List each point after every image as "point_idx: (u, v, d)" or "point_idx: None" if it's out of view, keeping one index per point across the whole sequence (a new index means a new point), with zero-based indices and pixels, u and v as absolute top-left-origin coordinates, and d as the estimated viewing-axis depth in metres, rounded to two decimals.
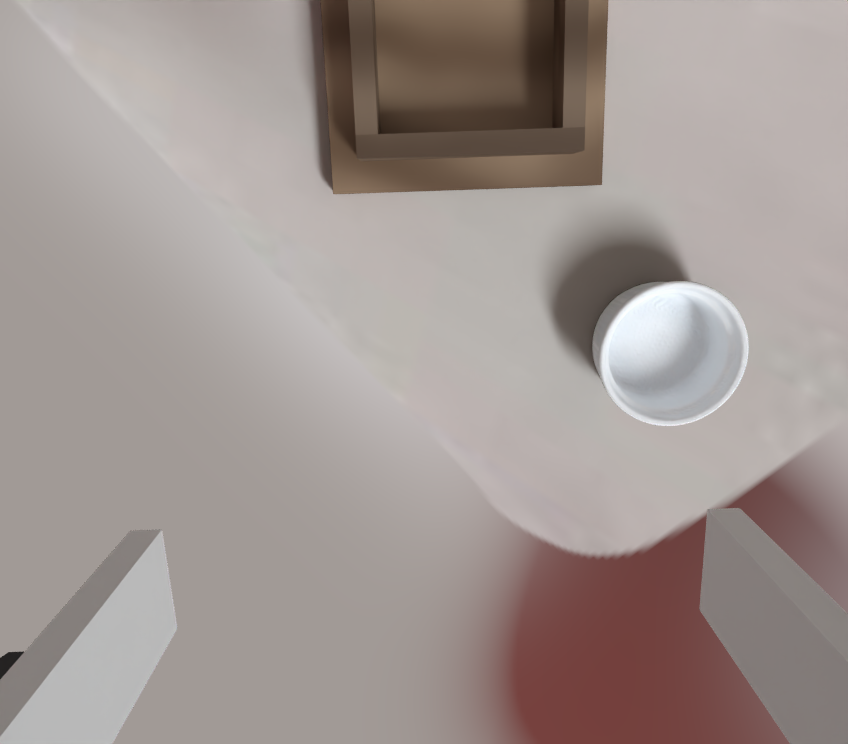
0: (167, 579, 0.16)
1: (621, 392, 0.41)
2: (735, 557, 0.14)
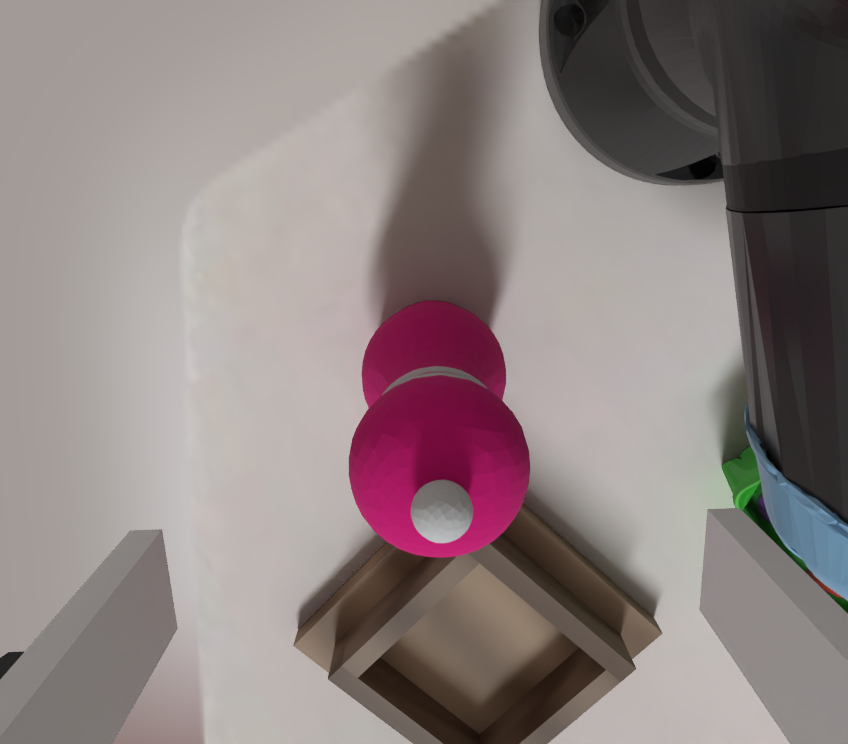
0: (167, 578, 0.16)
1: None
2: (735, 557, 0.14)
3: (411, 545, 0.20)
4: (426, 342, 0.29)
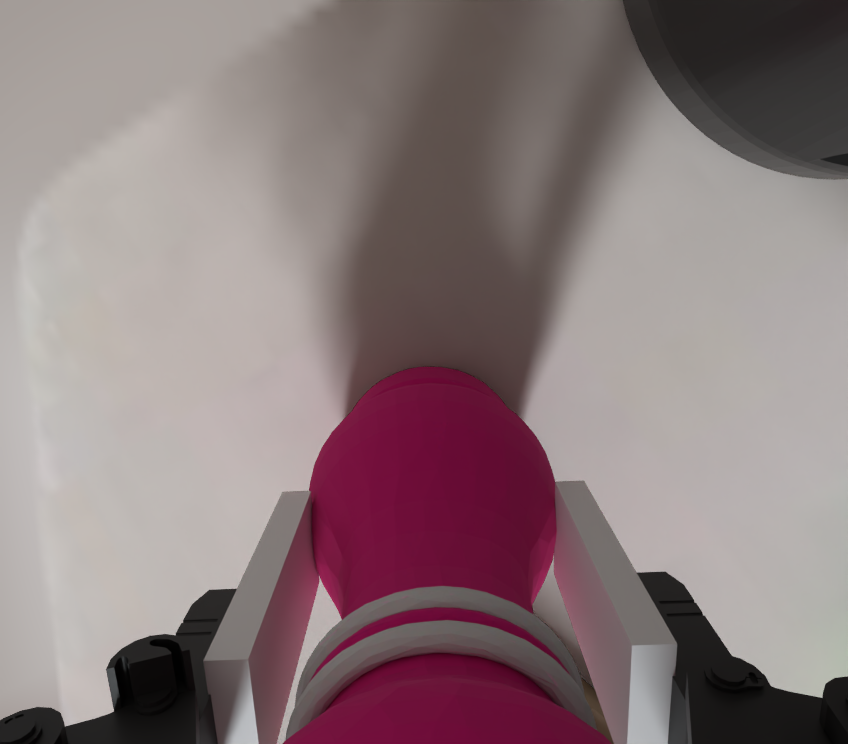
0: None
1: None
2: (567, 522, 0.16)
3: None
4: (419, 478, 0.15)
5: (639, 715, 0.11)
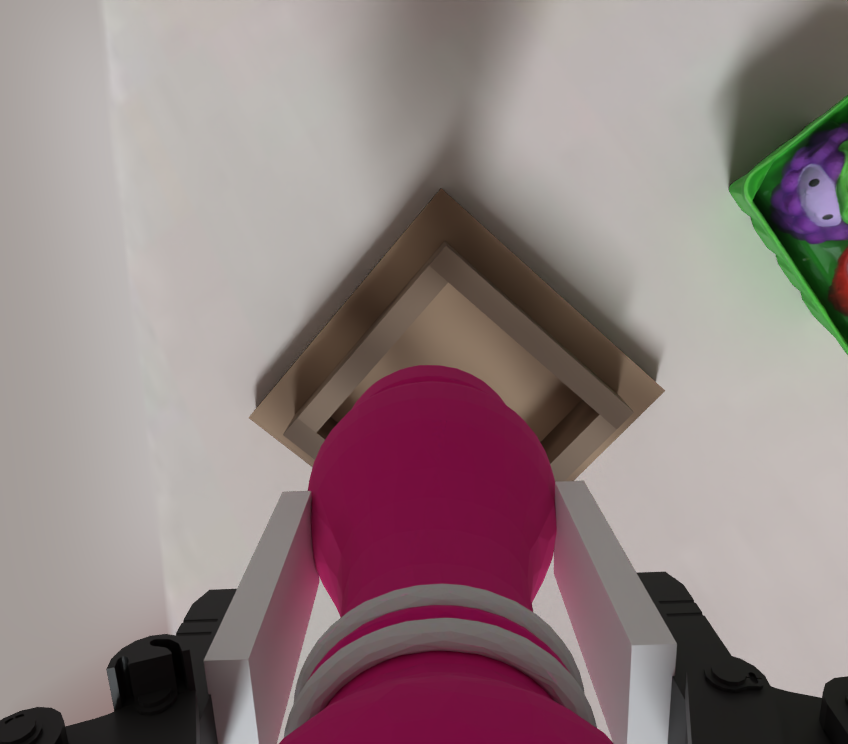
0: None
1: None
2: (567, 521, 0.16)
3: None
4: (419, 476, 0.15)
5: (639, 715, 0.11)
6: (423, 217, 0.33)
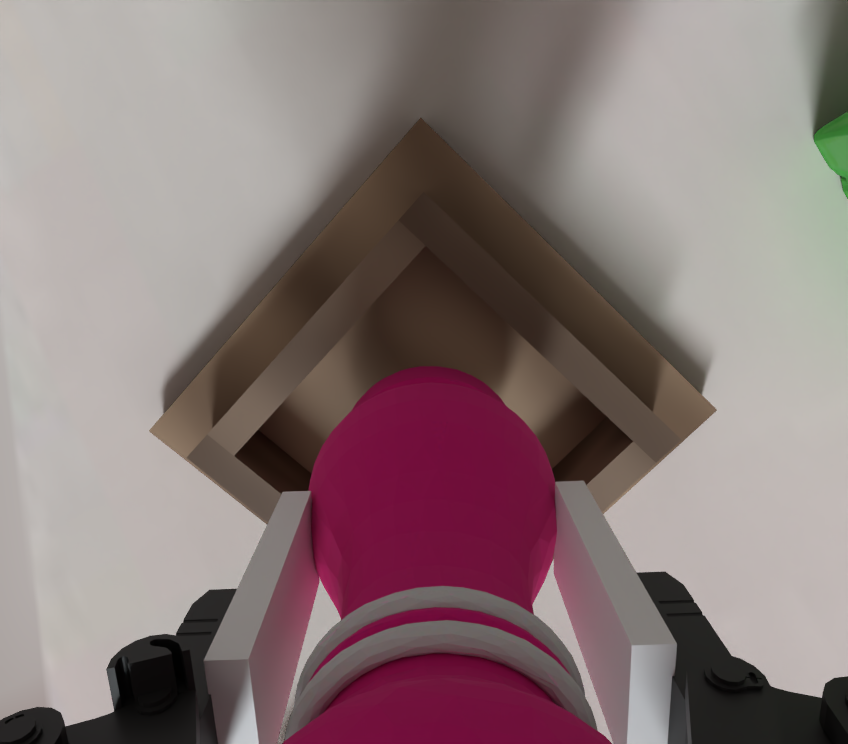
0: None
1: None
2: (567, 521, 0.16)
3: None
4: (419, 478, 0.15)
5: (639, 715, 0.11)
6: (394, 158, 0.23)
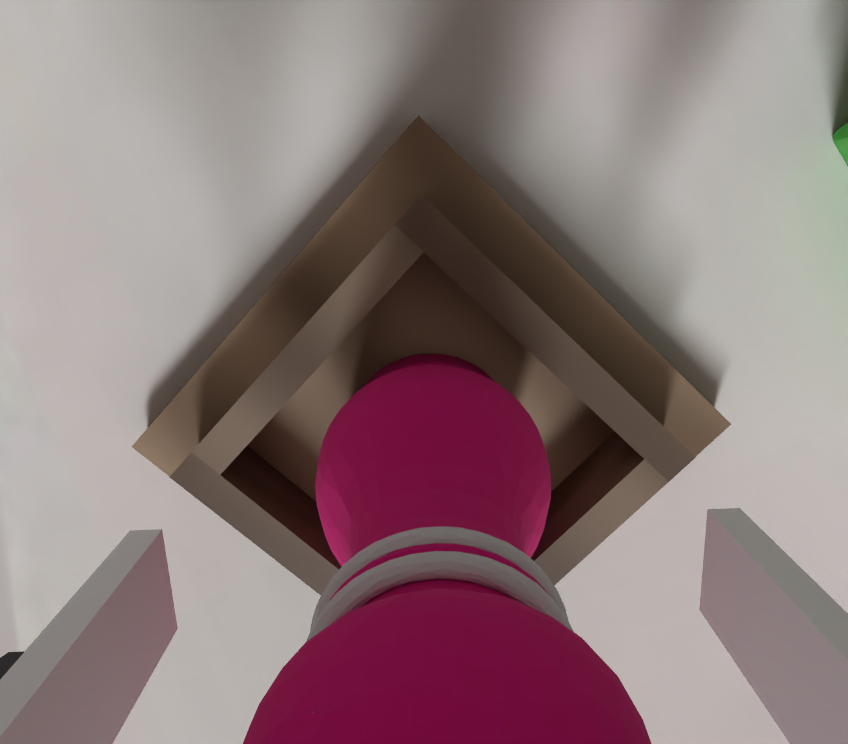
0: (167, 579, 0.16)
1: None
2: (735, 557, 0.14)
3: None
4: (421, 445, 0.16)
5: None
6: (390, 159, 0.22)
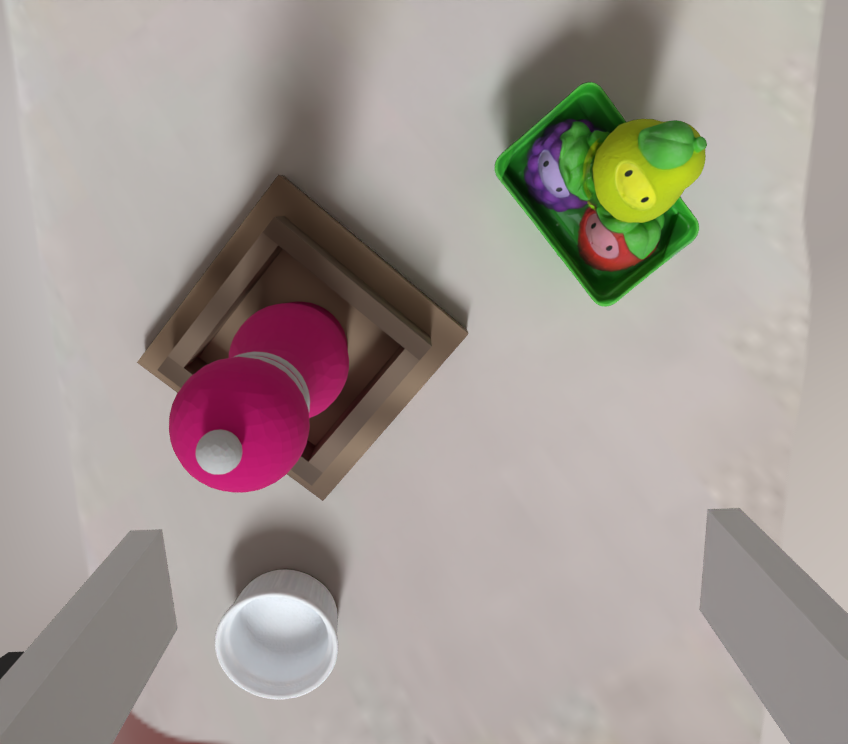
0: (167, 578, 0.16)
1: (228, 640, 0.48)
2: (736, 557, 0.14)
3: (212, 481, 0.28)
4: (266, 334, 0.36)
5: None
6: (265, 198, 0.42)
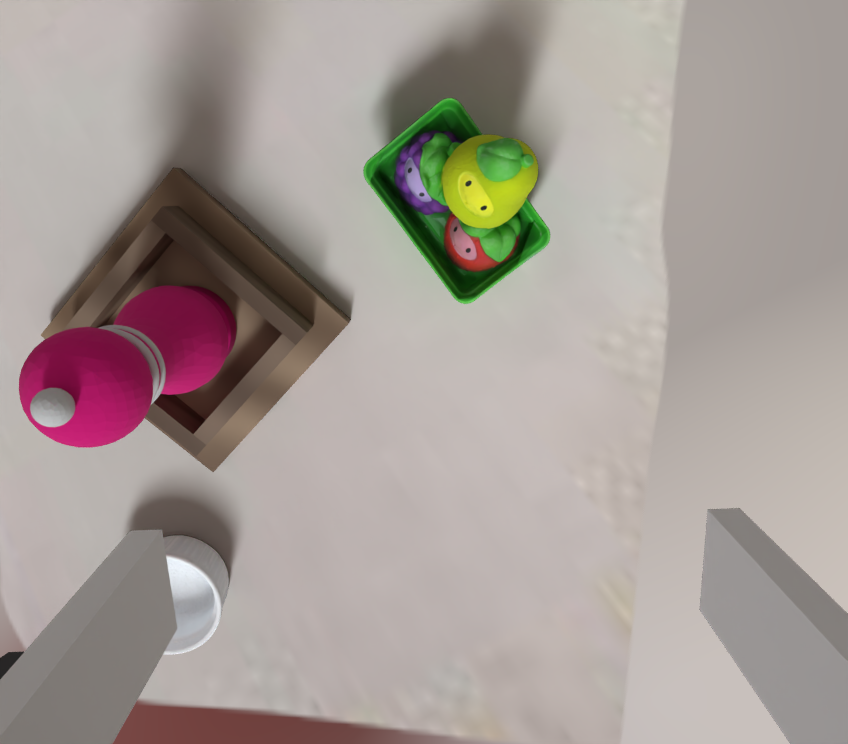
0: (167, 579, 0.16)
1: None
2: (735, 557, 0.14)
3: (53, 435, 0.31)
4: (141, 312, 0.40)
5: None
6: (161, 188, 0.45)
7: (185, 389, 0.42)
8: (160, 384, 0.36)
